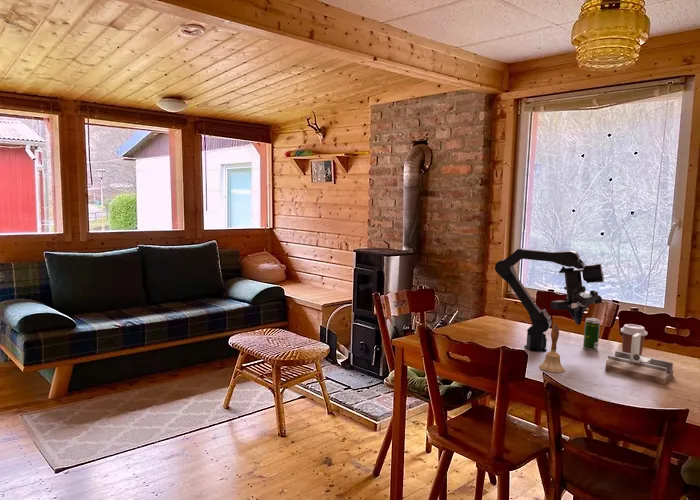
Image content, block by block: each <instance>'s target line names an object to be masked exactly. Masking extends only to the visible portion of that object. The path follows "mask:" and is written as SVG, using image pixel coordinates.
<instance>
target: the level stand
mask: <svg viewBox="0 0 700 500" xmlns="http://www.w3.org/2000/svg"><path fill="white" fill-rule="evenodd" d="M630 355H631V354H630V353H625V352H622V350H621V351H619V350H615V351H614V355H610V354H608V355H607V358H606V359H605V367H604V369H605V371H606V372H611V373H613V374H618V375H622V376H627V377H631V378H635V379H639V380H643V381H647V382H652V383H656V384H660V385H665V384H666V383H667V382H668V381H669V380H670V379H671V378H673V376H674V370H673V369H674V362H671V361H667V360H662V359H658V358H653V357H649V356H645V355H641V357H646V358H650V359H651V364H647V363H642V362H639V363H637V362H632V360H630ZM639 356H640V355H639Z"/></svg>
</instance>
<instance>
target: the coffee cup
mask: <svg viewBox="0 0 700 500" xmlns="http://www.w3.org/2000/svg"><path fill="white" fill-rule="evenodd" d="M620 333H621V352H625V353H630V354H631V344H632V336H633V335H635V334H636V333H639V334H641V339H640V350H639V355H640V356H643V355H642V354H643V349H644V345H645V339H646V336H648V331H646V330H645V327H644V326H642V325H641V324H640V325H638V324H633V323H628V324H627V323H626V324H624V325H623V327H621V328H620Z"/></svg>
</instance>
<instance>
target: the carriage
mask: <svg viewBox="0 0 700 500" xmlns="http://www.w3.org/2000/svg"><path fill="white" fill-rule="evenodd" d="M640 339H641V334H639V333H636V334H635V335H633V336H632V344H631V355H630V360H632V362H637V363H639V362H642V363H647V364H651V359H650V358H651V357H649V358H646V357H647V356H644V357H641V356H642V355H641V356H639V350H640Z"/></svg>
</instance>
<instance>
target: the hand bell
mask: <svg viewBox="0 0 700 500" xmlns="http://www.w3.org/2000/svg"><path fill="white" fill-rule="evenodd" d="M550 330H551V331H550V338H551V347H550V351H548V352H546V353H545V356H544V357H545V358H544V360H543V362H542V363H541V364H540V365H539V366H538V367H539V369H541V371H545V372H547V373H556V374H561V373H564V372H565V368H564V367H563V365H562V363H561V355H560V354H559V353H558V352H557V343H558V340H559V336H560V329H559V325H558V324H555V323H554V324H553V326H552V329H550Z"/></svg>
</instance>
